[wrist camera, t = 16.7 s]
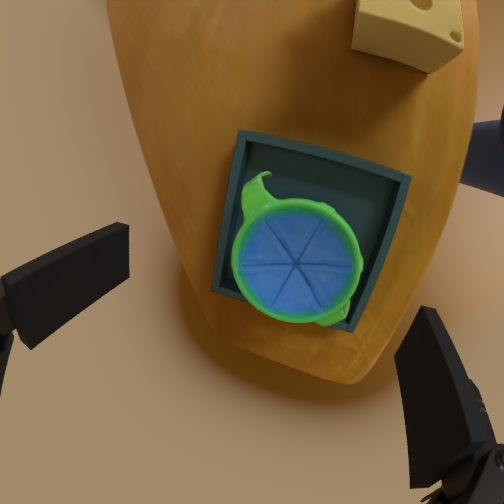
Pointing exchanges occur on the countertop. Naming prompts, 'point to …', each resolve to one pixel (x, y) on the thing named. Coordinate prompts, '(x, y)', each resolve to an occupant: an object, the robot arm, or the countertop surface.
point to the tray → (319, 190)
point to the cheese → (410, 31)
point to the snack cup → (295, 257)
